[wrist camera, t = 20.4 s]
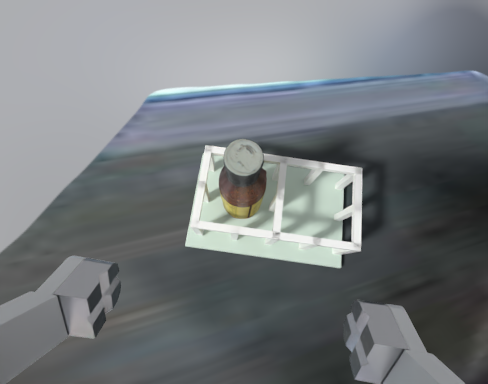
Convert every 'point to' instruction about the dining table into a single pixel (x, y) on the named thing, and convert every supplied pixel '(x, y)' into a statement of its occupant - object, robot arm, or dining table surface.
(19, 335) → the robot arm
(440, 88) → the dining table surface
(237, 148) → the sauce bottle
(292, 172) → the dish rack
